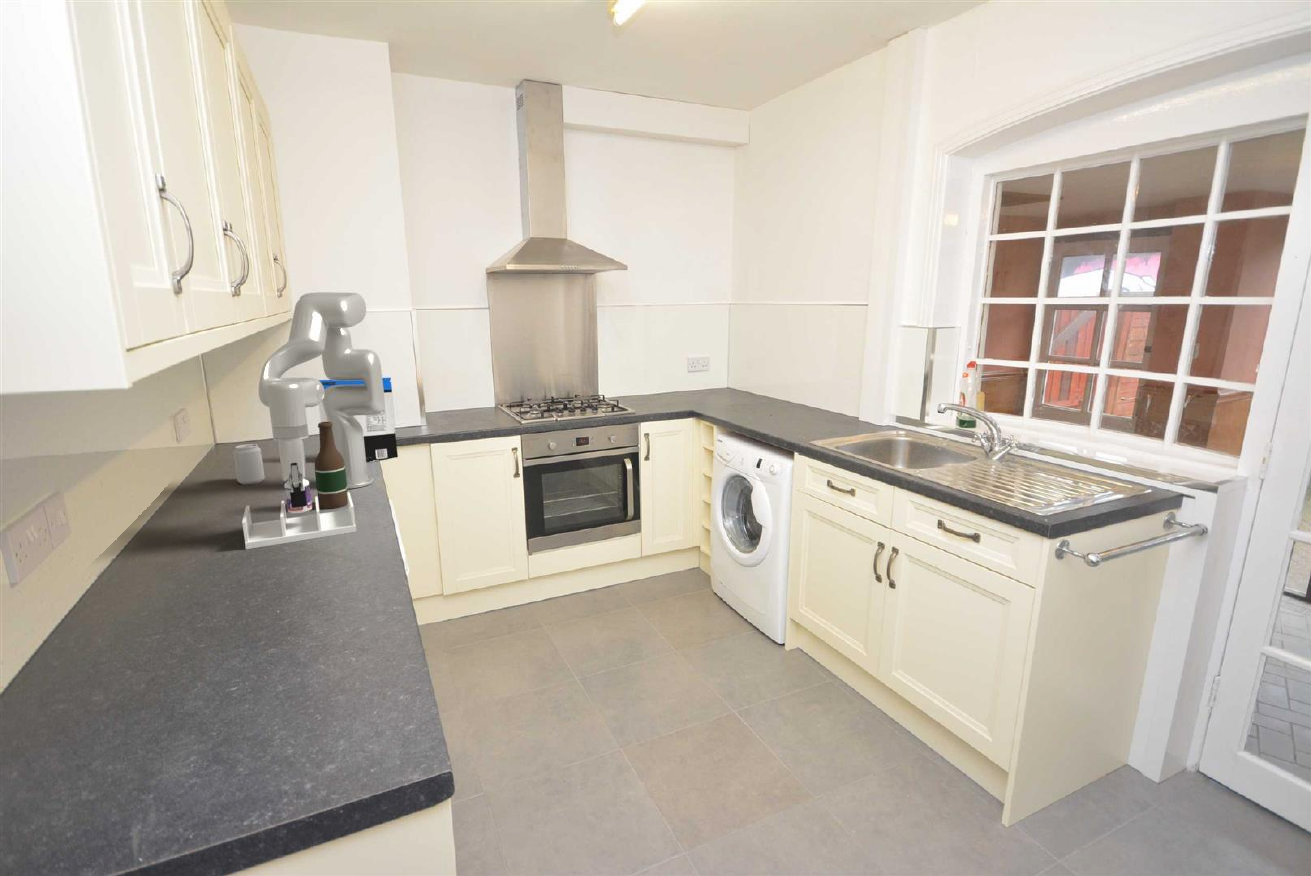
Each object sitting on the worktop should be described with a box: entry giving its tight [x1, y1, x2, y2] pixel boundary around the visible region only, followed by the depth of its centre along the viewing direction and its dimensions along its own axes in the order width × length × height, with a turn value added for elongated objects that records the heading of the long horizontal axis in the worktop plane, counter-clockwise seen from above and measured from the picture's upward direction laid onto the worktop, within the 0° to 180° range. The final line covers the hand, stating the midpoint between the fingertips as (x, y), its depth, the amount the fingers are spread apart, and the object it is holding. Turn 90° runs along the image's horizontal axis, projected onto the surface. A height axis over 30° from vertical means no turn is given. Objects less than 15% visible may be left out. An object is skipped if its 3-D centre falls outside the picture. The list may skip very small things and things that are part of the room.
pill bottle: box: [284, 476, 313, 514], centre depth 154 cm, size 5×5×10 cm
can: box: [232, 443, 265, 485], centre depth 199 cm, size 8×8×12 cm
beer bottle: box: [314, 421, 349, 510], centre depth 174 cm, size 8×8×24 cm
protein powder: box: [317, 377, 399, 463], centre depth 225 cm, size 10×24×30 cm, turn 111°
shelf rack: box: [241, 491, 357, 550], centre depth 156 cm, size 15×23×6 cm, turn 120°
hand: (299, 502), depth 155 cm, fingers closed on pill bottle, 5 cm apart
